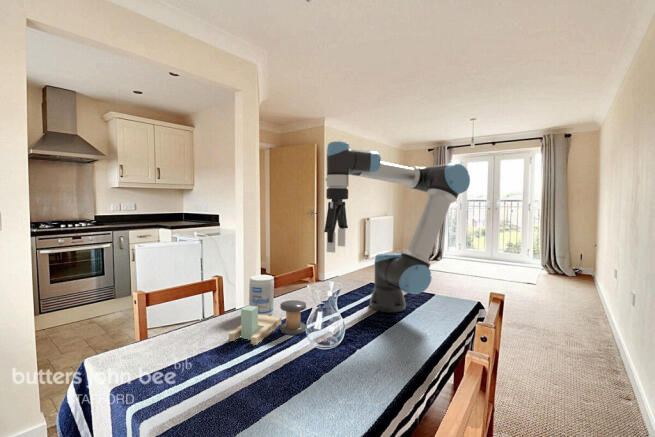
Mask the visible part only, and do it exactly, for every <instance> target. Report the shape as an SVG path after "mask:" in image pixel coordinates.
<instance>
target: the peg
mask: <svg viewBox="0 0 655 437" xmlns="http://www.w3.org/2000/svg"><path fill="white" fill-rule="evenodd" d="M240 326H241V337H240V339H241V338H244V339H248V340H247V341H249V340H251V337H252V336H253V335H254V334H255V333H257V332H258V307H257V306H249V304H248V305H246V306H243V307H242V308H241V309H240Z"/></svg>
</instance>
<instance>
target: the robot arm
mask: <svg viewBox="0 0 655 437" xmlns="http://www.w3.org/2000/svg"><path fill="white" fill-rule="evenodd" d="M349 176H354V177H356V176H357V177H362V178H366V179H372V180H378V181H383V182H387V183H388V182H389V183H393V184H399V185H404V186H406V187H407V188H408V189H413V190H417V191H421V192H425V193H427V194H428V199H427V201H426V204H425V205H424V209H423V211H422V213H421V216H420V219H419V221H418V223H417V226H416V227H415V230H414V233H413V235H412V238H411V240H410V242H409V245H408V246H407V249H406V250H404V251H402V252H400V253H397V252H396V253H395V252H393V253H392V252H391V253H387V252H385V253H377V254H376V255H375V258H374V288H373V291H372V294H371V296H370V299H369V307H370V308H372V309H373V310H375V311H378V312H383V313H400V312H403V311H405V310H406V307H407V306H406V305H407V304H406V298H405V296H404V293H406V294H410V295H411V294H412V295H419V294H421V293H423V292H425V291H426V290H427V289H428V288H429V286H430V284H431V283H432V278H433V276H432V271H431V270H430V266H431V263H430V260H429V258H430V255H431V253H432V251H433V248H434V246H435V243H436V240H437V238H438V236H439V233H440V231H441V228H442V226H443V223H444V221H445V218H446V216H447V213H448V210H449V208H450V206H451V204H452V203H454V202H456V201H457V199H458V198H459V195H460V194H463V193H464V192H466V191H467V190H468V189H469V187H470V183H471V178H470V174H469V171H468V169H467V168H466V167H465V165H463V164H461V163H458V162H457V163H453V162H451V163H447V164H437V165H429V166H418V165H417V166H415V165H413V166H410V167H408V166H404V165H399V164H395V163H390V162H385V161H382V159H381V154H380V153H379V152H378V151H373V150H370V149H369V150H364V149H351V148H350V144H349V142H347V141H340V140H339V141H336V140H335V141H332V142H329V143H328V145H327V148H326V178H325V181H326V187H327V188H326V199H327V200H331V201H328V203H327V214H326V218H325V219H326V220H325V225H324V226H325V227H324V229H323V230H324V233H326V253H333V254H334V253H336V232H335V231H336V227H337V225H338V228H337V247H346V229H348V228H349V225H348V222H347V220H348V219H347V213H346V212H347V211H346V209H347V208H346V202H345V201H344V200H348V199H349V189H348V187H349V182H350V181H349ZM403 292H404V293H403Z"/></svg>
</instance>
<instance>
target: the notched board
mask: <svg viewBox="0 0 655 437" xmlns="http://www.w3.org/2000/svg"><path fill="white" fill-rule="evenodd" d="M279 325H280V326H281V325H282V317H281V316H275V315H269V316H268V315H261V314H258V332H257V333H255V334H254V335H253V336H252V337H251V341H250V345H251V344H253V345H252V346H255V345H257V344H258V343H259V342H260V343H261V342H263V341H264V340H265V339H266V338H267V337H268V336H270V333H271V332H272V331H273V332H274V331H275V330H276V329H278V326H279ZM280 326H279V327H280ZM273 332H272V333H273ZM272 333H271V334H272ZM240 336H241V325H239V326H237V327H236V328H235V329H233V330H232V331H231V332H229V333H228V341H229V340H232V341H235V340H236V339H237V338H239V337H240ZM265 337H266V338H265ZM240 338H241V337H240ZM240 338H239V339H240ZM264 338H265V339H264ZM263 339H264V340H263ZM262 340H263V341H262ZM236 341H237V340H236ZM236 341H235V342H236ZM260 343H259V344H260ZM259 344H258V345H259ZM258 345H257V346H258Z"/></svg>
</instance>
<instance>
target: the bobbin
mask: <svg viewBox="0 0 655 437" xmlns="http://www.w3.org/2000/svg"><path fill="white" fill-rule="evenodd" d="M279 306H280V310H282V311H284V312H285V322H284V323H281V325H280V326H279V327H280V329H279V331H280V330H281V331H280V332H281V333H282V334H284V335H287V336H297V334H298V335H301V334H303V333H305V332H306V331H305V329H306V330H307V325H306V324H305V323H303V322H302V321H301V312H302V311H304V310H306V309H307V303H306V302H305V301H303V300H298V299H297V300H295V299H293V300H292V299H291V300H286V301H283V302H281V303H280V305H279Z"/></svg>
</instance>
